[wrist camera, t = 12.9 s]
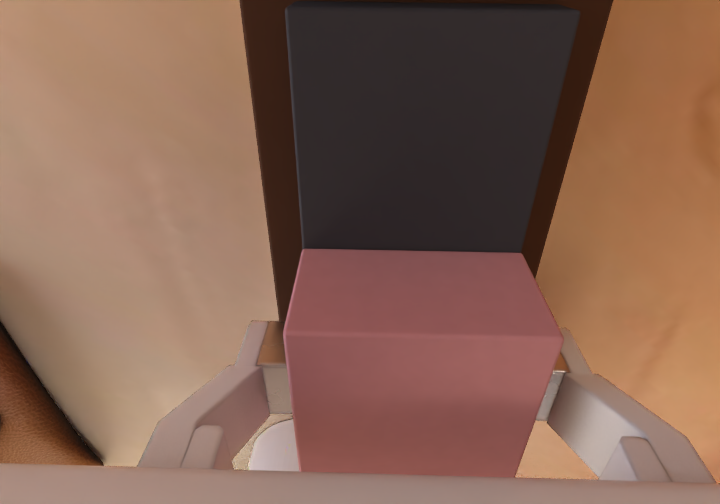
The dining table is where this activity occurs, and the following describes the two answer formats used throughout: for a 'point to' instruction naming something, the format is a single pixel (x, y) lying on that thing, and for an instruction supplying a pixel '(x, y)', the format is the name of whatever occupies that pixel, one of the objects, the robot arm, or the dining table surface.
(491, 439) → the two-tone stepped block
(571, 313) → the dining table surface
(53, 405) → the sunglasses case
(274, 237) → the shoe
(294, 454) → the cup
